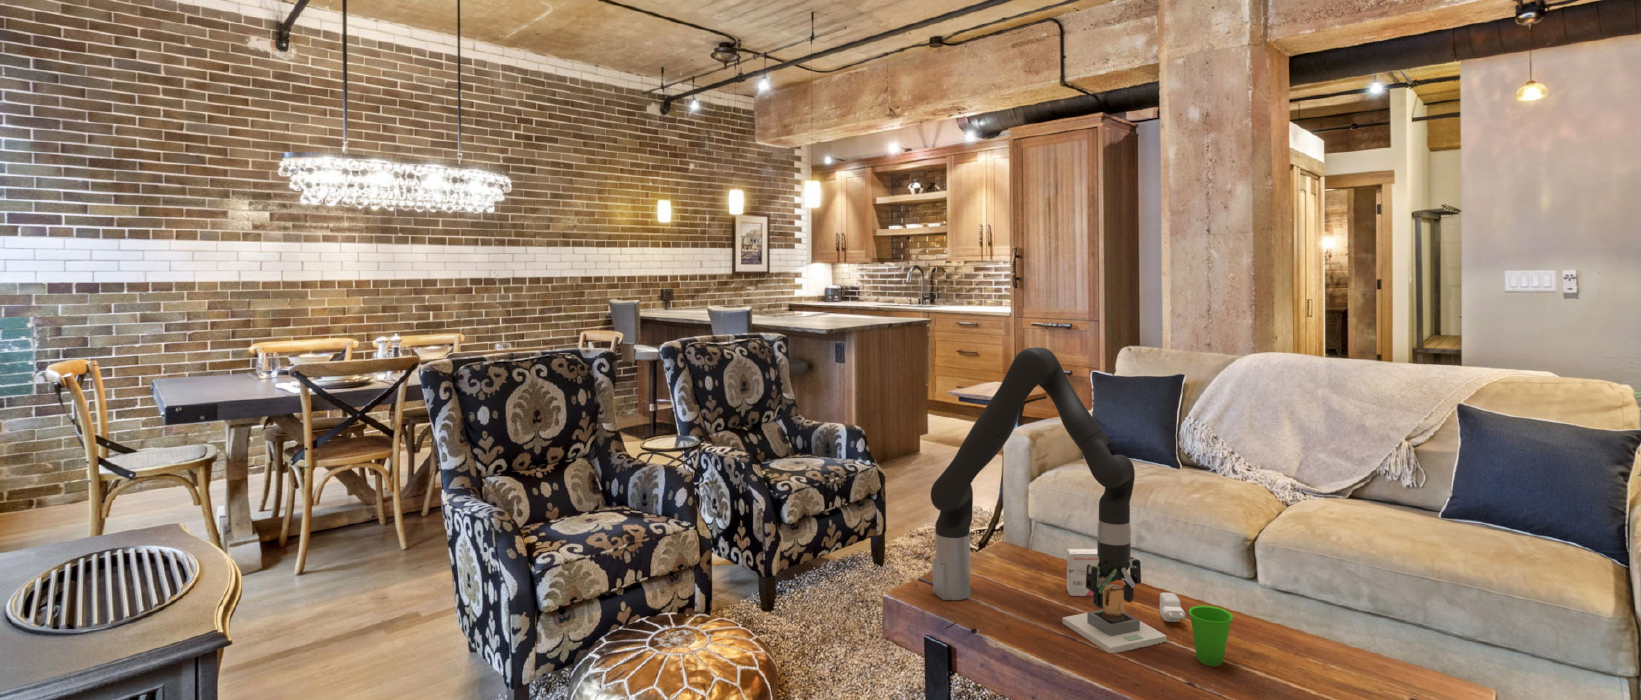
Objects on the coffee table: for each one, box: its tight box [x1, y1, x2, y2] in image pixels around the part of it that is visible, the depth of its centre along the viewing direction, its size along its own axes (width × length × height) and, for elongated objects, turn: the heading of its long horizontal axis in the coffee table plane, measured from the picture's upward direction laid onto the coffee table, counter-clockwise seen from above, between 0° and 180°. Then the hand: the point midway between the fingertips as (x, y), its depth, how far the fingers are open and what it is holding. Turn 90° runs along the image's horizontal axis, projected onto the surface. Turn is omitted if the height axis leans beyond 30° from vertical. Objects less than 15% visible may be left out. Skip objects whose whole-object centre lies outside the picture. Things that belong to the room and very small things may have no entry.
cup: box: [1188, 604, 1234, 667], centre depth 184 cm, size 9×9×11 cm
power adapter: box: [1159, 592, 1187, 623], centre depth 205 cm, size 11×5×6 cm, turn 171°
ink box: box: [1066, 548, 1100, 597], centre depth 224 cm, size 9×5×12 cm, turn 84°
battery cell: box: [1102, 583, 1125, 624], centre depth 200 cm, size 5×5×10 cm
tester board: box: [1062, 609, 1168, 654], centre depth 200 cm, size 16×18×4 cm
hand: (1113, 604), depth 200 cm, fingers open, 8 cm apart
